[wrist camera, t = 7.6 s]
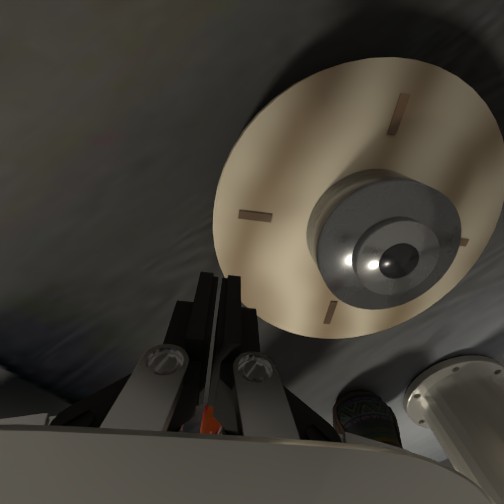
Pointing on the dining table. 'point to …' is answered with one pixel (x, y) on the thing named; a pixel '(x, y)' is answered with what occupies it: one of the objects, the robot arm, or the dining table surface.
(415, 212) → the cover
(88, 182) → the dining table surface
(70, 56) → the dining table surface
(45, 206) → the dining table surface
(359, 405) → the mate gourd
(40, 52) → the dining table surface
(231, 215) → the turntable
